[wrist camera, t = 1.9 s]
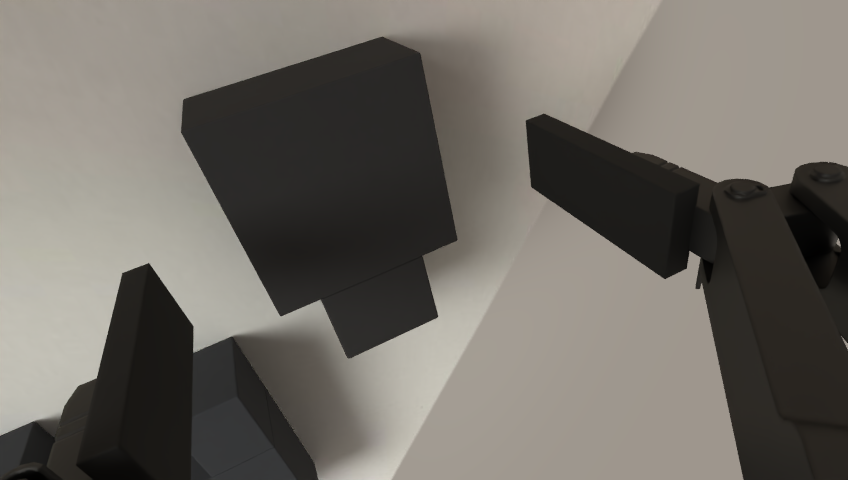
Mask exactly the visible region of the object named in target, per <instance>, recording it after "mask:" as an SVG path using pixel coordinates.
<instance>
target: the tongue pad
mask: <svg viewBox="0 0 848 480" xmlns="http://www.w3.org/2000/svg"><path fill="white" fill-rule="evenodd" d="M181 133H182V135H183V137H184V138H185V140H186V142H187V144H188V146H189V148H190V150H191V151H192V153H193V155H194V157H195V159H196V161H197V163H198V164H199V166H200V168H201V170H202V172H203V174H204V176H205V177H206V179H207V181H208V183H209V185H210V187H211V189H212V190H213V192H214V194H215V196H216V198H217V200H218V202H219V203H220V205H221V207H222V209H223V211H224V213H225V215H226V216H227V218H228V220H229V222H230V224H231V226H232V228H233V229H234V231H235V233H236V235H237V237H238V239H239V241H240V242H241V244H242V246H243V248H244V250H245V252H246V254H247V255H248V257H249V259H250V261H251V263H252V265H253V267H254V268H255V270H256V272H257V274H258V276H259V278H260V280H261V281H262V283H263V285H264V287H265V289H266V291H267V293H268V294H269V296H270V298H271V300H272V302H273V304H274V306H275V307H276V309H277V311H278V313H279V315H280V316H283V315H285V314H288V313H290V312H292V311H295V310H297V309H299V308H302V307H304V306H306V305H308V304H311V303H313V302H315V301H318V300H320V299H321V301H322V303H323V305H324V308H325V310H326V312H327V314H328V316H329V319H330V321H331V323H332V325H333V327H334V330H335V332H336V334H337V336H338V338H339V341H340V343H341V345H342V347H343V349H344V352H345V354H346V356H347V358H352V357H354V356H356V355H358V354H360V353H362V352H365V351H367V350H369V349H371V348H373V347H375V346H377V345H380V344H382V343H384V342H386V341H388V340H390V339H393V338H395V337H397V336H399V335H401V334H403V333H405V332H408V331H410V330H412V329H414V328H416V327H418V326H420V325H423V324H425V323H427V322H429V321H431V320H433V319H435V318H437V317H438V314H437V310H436V306H435V303H434V299H433V295H432V291H431V287H430V283H429V280H428V276H427V272H426V268H425V264H424V260H423V257H422V255H425V254H427V253H429V252H432V251H434V250H436V249H438V248H441V247H443V246H445V245H448V244H450V243H452V242H455V241H457V235H456V230H455V225H454V220H453V215H452V210H451V205H450V200H449V195H448V190H447V185H446V180H445V175H444V170H443V165H442V160H441V155H440V150H439V145H438V140H437V135H436V130H435V125H434V120H433V115H432V110H431V105H430V100H429V95H428V90H427V85H426V80H425V75H424V70H423V65H422V60H421V55H420V53H419V52H417V51H414V50H412V49H410V48H407V47H405V46H403V45H400V44H398V43H396V42H393V41H391V40H389V39H386V38H384V37H380V38H377V39H374V40H370V41H367V42H364V43H361V44H358V45H355V46H351V47H348V48H345V49H342V50H339V51H336V52H332V53H329V54H326V55H323V56H320V57H317V58H313V59H310V60H307V61H304V62H301V63H298V64H294V65H291V66H288V67H285V68H282V69H279V70H275V71H272V72H269V73H266V74H263V75H259V76H256V77H253V78H250V79H247V80H244V81H240V82H237V83H234V84H231V85H228V86H225V87H221V88H218V89H215V90H212V91H209V92H206V93H202V94H199V95H196V96H193V97H190V98H187V99H184V100H183V112H182V127H181Z"/></svg>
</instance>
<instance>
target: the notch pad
mask: <svg viewBox="0 0 848 480" xmlns="http://www.w3.org/2000/svg"><path fill="white" fill-rule="evenodd" d="M53 443H55V440H54V438H53V437H52V436H51V435H50V434H48V433H47V432H46V431H45V430H44V429H42V428H41V427H40V426H39V425H38V424H37V423H35V422H32V423H30V424H28V425H25V426H23V427H21V428H18V429H16V430H14V431H11V432H9V433H7V434H4V435H2V436H0V477H1V476H2V475H4V474H5V473H7V472H8V471H10V470H12V469H14V468H16V467H18V466H20V465H23V464H28V463H32V462H36V463H41V464H44V465H45V466H47V462H48V459H49V456H50V453H51V449H52V446H53ZM191 480H318V477H317V473H316V469H315V464H314V462H313V461H312V459H311V458H310V456H309V454H308V453H307V451H306V450H305V448H304V447H303V445H302V444H301V442H300V441H299V439H298V437H297V436H296V434H295V433H294V431H293V430H292V428H291V427H290V425H289V424H288V422H287V420H286V419H285V417H284V416H283V414H282V413H281V411H280V410H279V408H278V406H277V405H276V403H275V402H274V400H273V399H272V397H271V396H270V394H269V393H268V391H267V389H266V388H265V387H264V385H263V383H262V382H261V380H260V379H259V377H258V376H257V374H256V373H255V371H254V370H253V368H252V366H251V365H250V363H249V362H248V360H247V359H246V357H245V356H244V354H243V352H242V351H241V349H240V348H239V346H238V345H237V343H236V342H235V340H234V339H233V338H232V337H230V338H228V339H226V340H223V341H221V342H219V343H216V344H214V345H212V346H210V347H207V348H205V349H203V350H200V351H198V352H196V353H193V388H192V449H191Z"/></svg>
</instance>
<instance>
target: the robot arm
mask: <svg viewBox="0 0 848 480" xmlns="http://www.w3.org/2000/svg"><path fill="white" fill-rule="evenodd" d="M526 130H527V142H528V154H529V166H530V178H531V187H532V188H533V189H535V190H536V191H538V192H539V193H541V194H542V195H544V196H545V197H546V198H548V199H549V200H551V201H552V202H554V203H556V204H557V205H558V206H560V207H561V208H563V209H564V210H565V211H567V212H568V213H570V214H571V215H573V216H574V217H575V218H577V219H578V220H580V221H581V222H583V223H584V224H586V225H587V226H589V227H590V228H592V229H593V230H594V231H596V232H597V233H599V234H600V235H602V236H603V237H605V238H606V239H607V240H609V241H610V242H612V243H613V244H615V245H616V246H618V247H619V248H621V249H622V250H623V251H625V252H626V253H628V254H629V255H631V256H632V257H634V258H635V259H637V260H638V261H639V262H641V263H642V264H644V265H645V266H647V267H648V268H649V269H651V270H652V271H654V272H655V273H657V274H658V275H660V276H661V277H663V278H664V279H666V278H668V277H670V276H672V275H674V274H676V273H678V272H681V271H682V270H684V269H687V263H688V257H689V251H691V252H693V253H694V254H696V255H698V256H699V257H701V259H700V264H699V270H698V276H697V282H696V289H700V286H701V283H702V285H703V289H704V294H705V299H706V304H707V308H708V313H709V318H710V323H711V327H712V332H713V337H714V341H715V346H716V351H717V356H718V360H719V365H720V370H721V374H722V379H723V384H724V389H725V393H726V399H727V403H728V408H729V413H730V417H731V422H732V427H733V431H734V436H735V441H736V446H737V450H738V455H739V460H740V465H741V470H742V474H743V479H744V480H848V350H847V348H846V345H845V343H844V341H843V339H842V337H843V338H844V339H845V341H846V342H847V343H848V167H847V166H843V165H839V164H837V163H831V162H829V163H828V162H818V163H808V164H804V165H801V166H799V167H798V168H796V170H795V173H794V177H793V181H792V183H791V184H786V185H781V186H776V187H770V188H769V187H768V186H766V185H764V184H762V183H760V182H757V181H753V180H748V179H731V180H724V181H722V182H719V183H717V182H714V181H712V180H709V179H707V178H705V177H703V176H700V175H698V174H696V173H693V172H691V171H689V170H687V169H684V168H682V167H681V168H679V167H678V166H677V165H675V164H673V163H667V161H666V160H663V159H661V158H659V157H657V156H654V155H650V154H645V153H639V152H634V153H630V152H628V151H626V150H623V149H621V148H619V147H617V146H615V145H612V144H610V143H608V142H606V141H604V140H601V139H599V138H597V137H595V136H593V135H590V134H588V133H586V132H584V131H581V130H579V129H577V128H575V127H573V126H570V125H568V124H566V123H564V122H561V121H559V120H557V119H555V118H553V117H550V116H548V115H546V114H542V115H539V116H536V117H534V118H531V119H528V120H526ZM838 238H839V241H840V244H841V247H839V246H838V245H837V244H836V242H837V240H838ZM841 336H842V337H841ZM192 388H193V325H192V324H191V322H190V321H189V320H188V318H187V317H186V315H185V314H184V312H183V311H182V310H181V308H180V307H179V305H178V304H177V302H176V301H175V300H174V298H173V297H172V295H171V294H170V292H169V291H168V290H167V288H166V287H165V285H164V284H163V282H162V281H161V280H160V278H159V277H158V275H157V274H156V272H155V271H154V270H153V268H152V267H151V265H150V264H149V263H148V264H146V265H143V266H140V267H138V268H135V269H132V270H130V271H127V272H124V273H122V277H121V282H120V286H119V290H118V294H117V298H116V302H115V306H114V310H113V314H112V318H111V322H110V327H109V331H108V335H107V339H106V343H105V347H104V351H103V355H102V359H101V363H100V367H99V372H98V376H97V379H94V380H92V381H89V382H87V383H85V384H82V385H80V386H78V387H77V389H76V390H75V392H74V393H73V395H72V396H71V397H70V399H69V400H68V402H67V403H66V405H65V406H64V409H63V413H62V416H61V419H60V423H59V425H60V427H59V428H58V429H57V433H56V436H55V439H54V440H55V443H53V446H52V449H51V453H50V456H49V459H48V462H47V466H45V465H44V464H41V463H36V462H32V463H28V464H23V465H20V466H18V467H16V468H14V469H12V470H10V471H8V472H7V473H5V474H4V475H2V476H1V477H0V480H191V449H192Z"/></svg>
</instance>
